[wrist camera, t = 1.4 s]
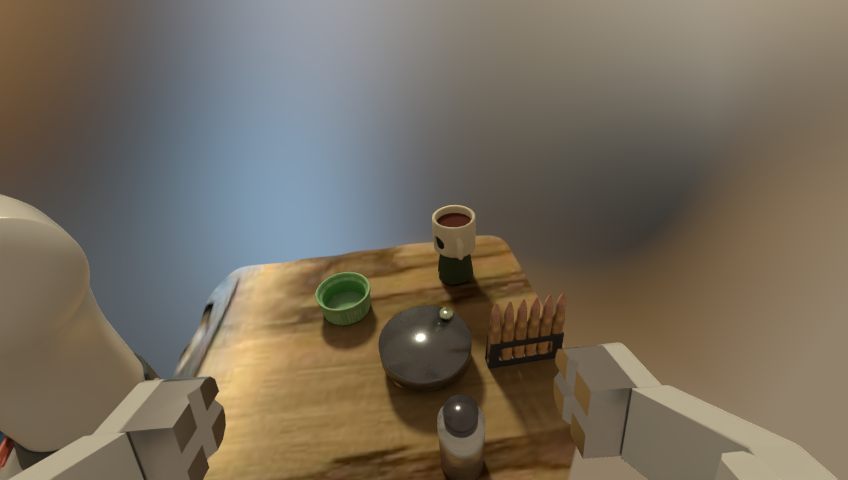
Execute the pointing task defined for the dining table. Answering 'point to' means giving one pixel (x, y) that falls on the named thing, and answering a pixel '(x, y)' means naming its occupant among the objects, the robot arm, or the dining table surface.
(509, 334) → the ammunition clip
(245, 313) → the dining table surface
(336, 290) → the ramekin
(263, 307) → the dining table surface
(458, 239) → the character mug
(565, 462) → the dining table surface
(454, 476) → the clear bottle
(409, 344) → the grey lid
